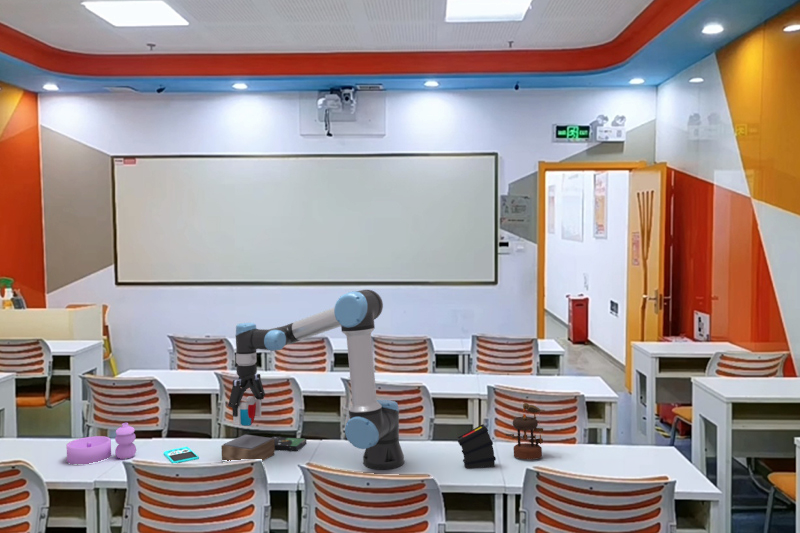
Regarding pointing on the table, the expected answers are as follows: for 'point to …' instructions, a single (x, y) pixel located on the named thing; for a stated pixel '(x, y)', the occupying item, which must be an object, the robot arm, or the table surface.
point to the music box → (526, 424)
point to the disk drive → (289, 443)
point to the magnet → (247, 411)
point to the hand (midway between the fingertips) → (247, 420)
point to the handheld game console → (180, 455)
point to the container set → (102, 447)
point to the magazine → (477, 448)
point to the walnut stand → (248, 448)
